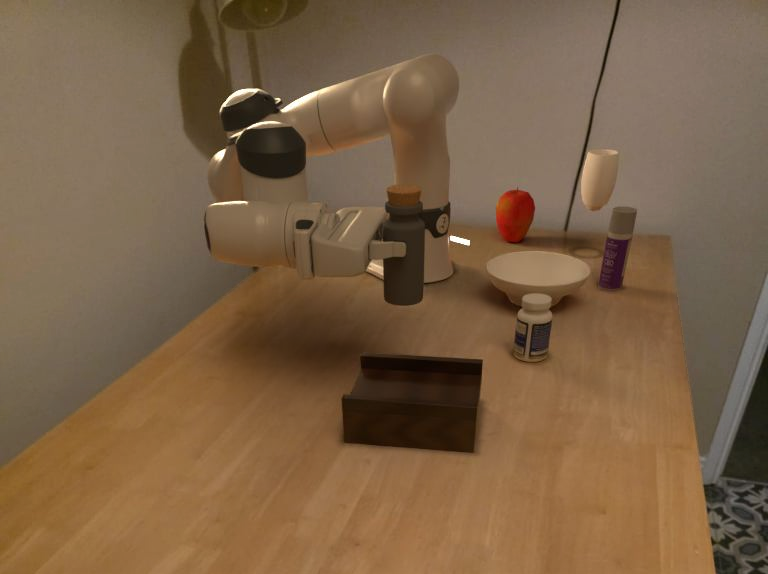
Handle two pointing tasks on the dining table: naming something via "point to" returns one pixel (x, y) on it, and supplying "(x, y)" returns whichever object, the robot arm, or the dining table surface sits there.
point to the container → (617, 248)
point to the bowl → (537, 274)
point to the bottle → (404, 224)
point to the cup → (599, 178)
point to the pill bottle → (533, 328)
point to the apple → (514, 214)
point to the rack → (414, 402)
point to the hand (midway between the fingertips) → (410, 240)
